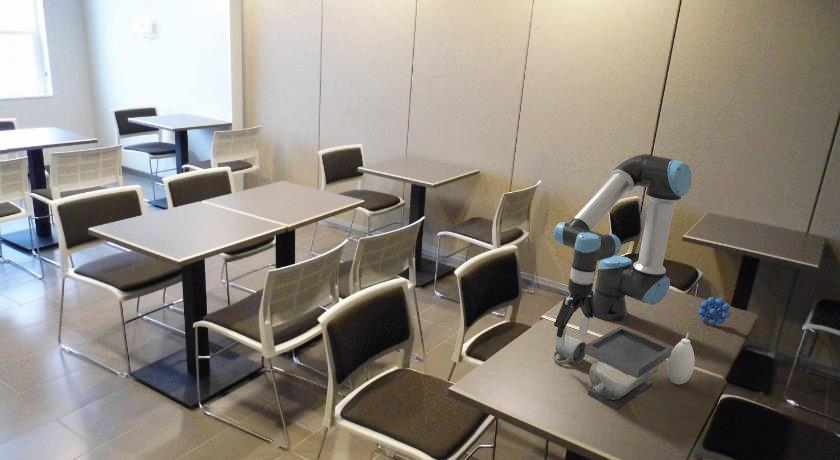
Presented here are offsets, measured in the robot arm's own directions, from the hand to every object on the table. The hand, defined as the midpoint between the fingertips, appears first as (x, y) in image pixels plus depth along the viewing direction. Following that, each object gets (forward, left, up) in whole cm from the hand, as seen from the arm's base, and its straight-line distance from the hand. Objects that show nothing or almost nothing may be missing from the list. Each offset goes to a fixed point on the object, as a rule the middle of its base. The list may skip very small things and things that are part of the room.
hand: (571, 339), depth 201 cm
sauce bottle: (-16, +30, -8) cm, 35 cm away
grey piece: (+3, +21, -7) cm, 22 cm away
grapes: (-70, +19, -8) cm, 73 cm away
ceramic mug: (0, 0, -8) cm, 8 cm away
